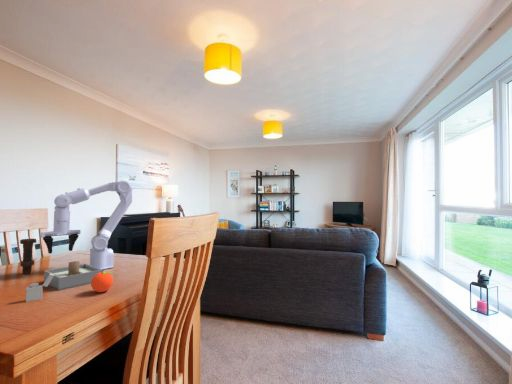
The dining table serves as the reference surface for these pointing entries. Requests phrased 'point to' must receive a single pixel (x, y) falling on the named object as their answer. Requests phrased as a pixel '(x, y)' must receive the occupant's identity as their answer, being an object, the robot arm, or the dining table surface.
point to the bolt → (27, 255)
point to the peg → (73, 268)
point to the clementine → (102, 282)
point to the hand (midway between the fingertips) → (60, 251)
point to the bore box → (71, 276)
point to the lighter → (37, 289)
